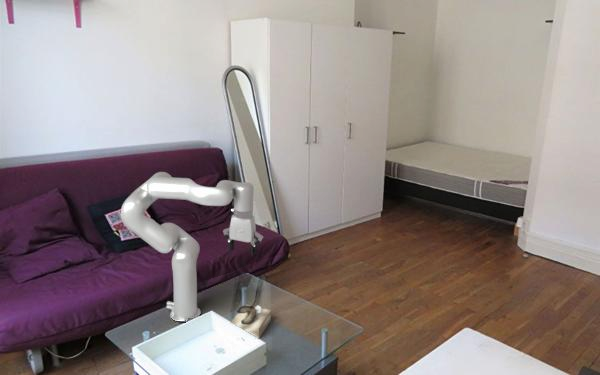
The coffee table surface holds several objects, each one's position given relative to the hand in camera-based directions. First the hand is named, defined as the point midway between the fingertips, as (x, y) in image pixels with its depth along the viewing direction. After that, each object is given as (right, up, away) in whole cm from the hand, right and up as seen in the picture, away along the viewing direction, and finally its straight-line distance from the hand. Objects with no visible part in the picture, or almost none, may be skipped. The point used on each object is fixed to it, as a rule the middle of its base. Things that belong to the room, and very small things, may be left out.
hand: (242, 252), depth 192 cm
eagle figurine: (+3, -27, -1) cm, 27 cm away
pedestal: (+3, -31, +2) cm, 31 cm away
